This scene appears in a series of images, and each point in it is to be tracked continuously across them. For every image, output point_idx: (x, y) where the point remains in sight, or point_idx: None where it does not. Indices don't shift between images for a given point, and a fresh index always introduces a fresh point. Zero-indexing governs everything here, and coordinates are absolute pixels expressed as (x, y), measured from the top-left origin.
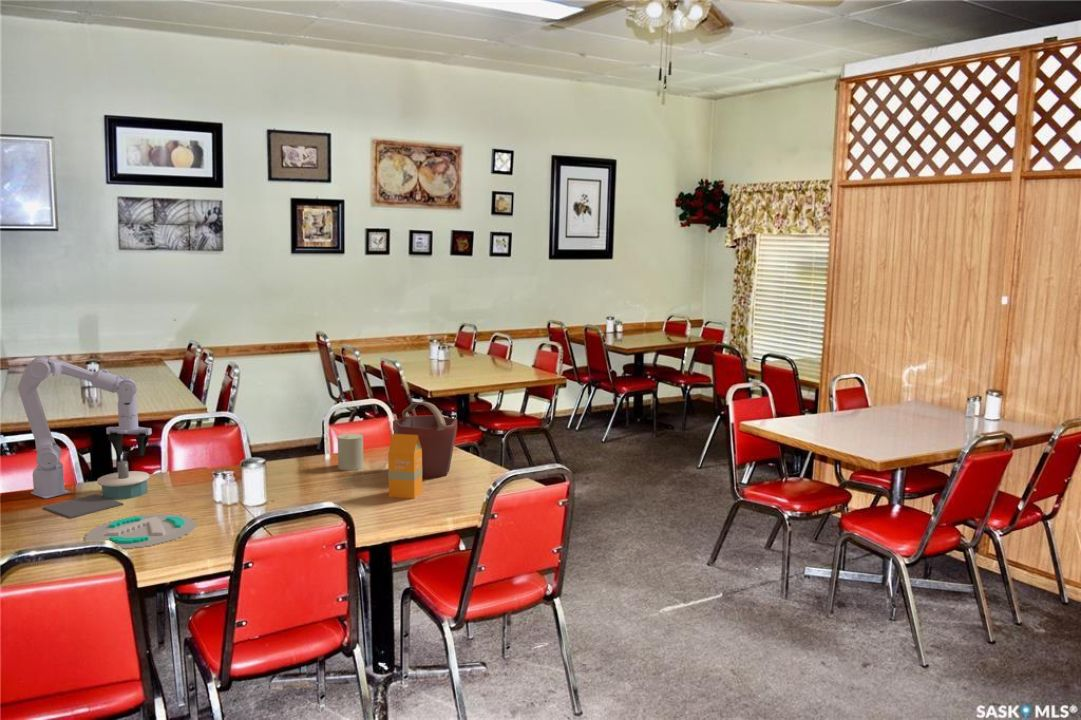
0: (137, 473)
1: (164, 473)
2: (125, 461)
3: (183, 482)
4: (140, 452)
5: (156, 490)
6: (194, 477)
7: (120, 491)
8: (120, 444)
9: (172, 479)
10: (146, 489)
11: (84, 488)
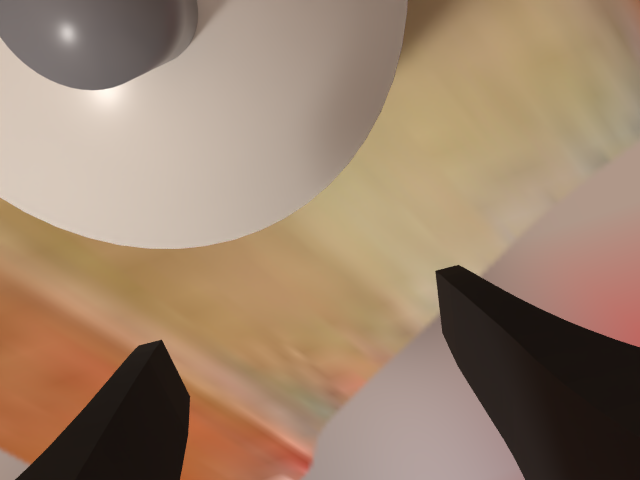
0: (146, 187)
1: (308, 431)
2: (88, 70)
3: (44, 363)
4: (110, 381)
5: None
6: None
7: None
8: (512, 426)
9: None
10: None
11: (577, 16)
